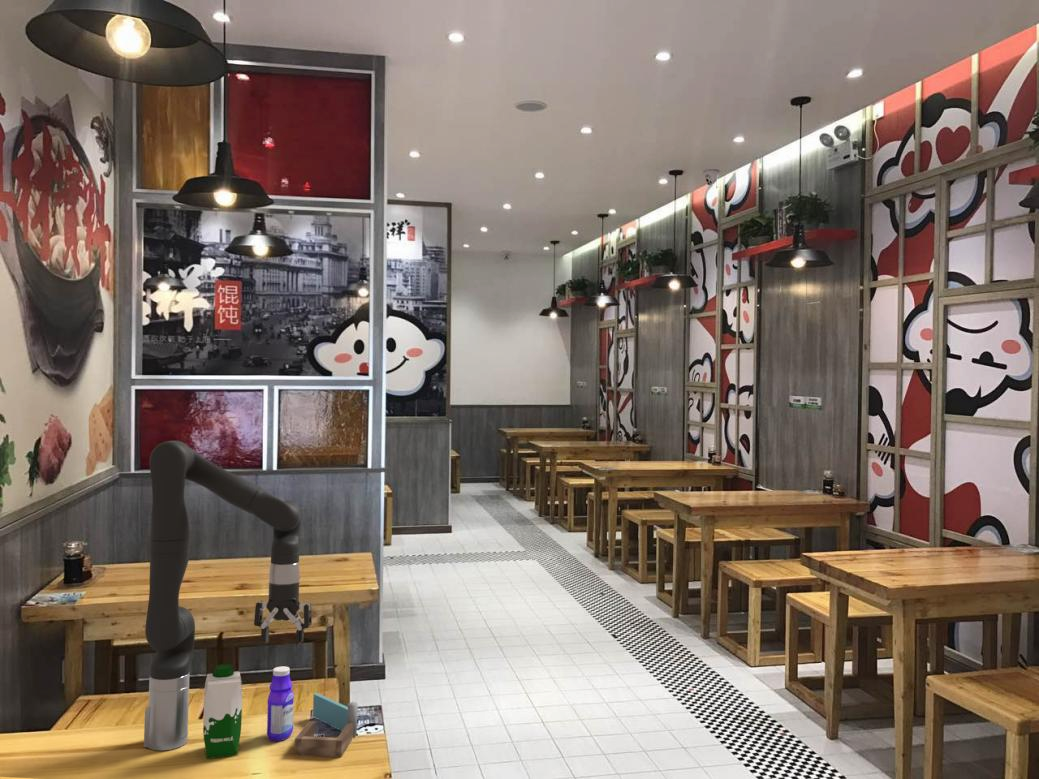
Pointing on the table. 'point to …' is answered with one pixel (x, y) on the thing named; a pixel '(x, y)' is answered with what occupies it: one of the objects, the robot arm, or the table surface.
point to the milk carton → (222, 712)
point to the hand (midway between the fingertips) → (282, 643)
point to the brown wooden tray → (322, 742)
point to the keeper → (335, 712)
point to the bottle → (280, 705)
